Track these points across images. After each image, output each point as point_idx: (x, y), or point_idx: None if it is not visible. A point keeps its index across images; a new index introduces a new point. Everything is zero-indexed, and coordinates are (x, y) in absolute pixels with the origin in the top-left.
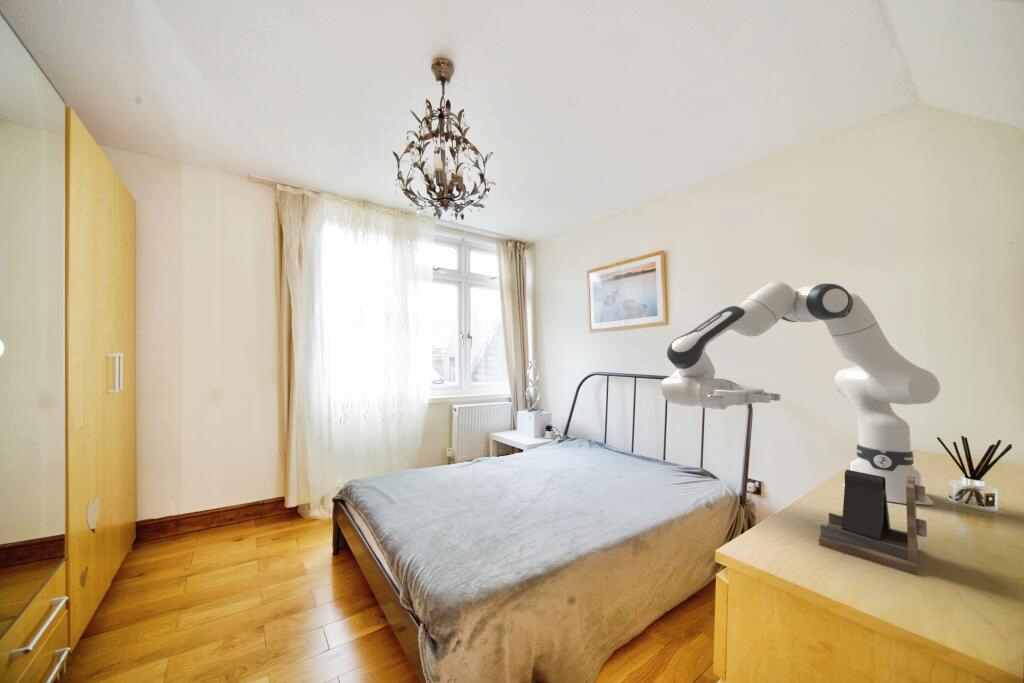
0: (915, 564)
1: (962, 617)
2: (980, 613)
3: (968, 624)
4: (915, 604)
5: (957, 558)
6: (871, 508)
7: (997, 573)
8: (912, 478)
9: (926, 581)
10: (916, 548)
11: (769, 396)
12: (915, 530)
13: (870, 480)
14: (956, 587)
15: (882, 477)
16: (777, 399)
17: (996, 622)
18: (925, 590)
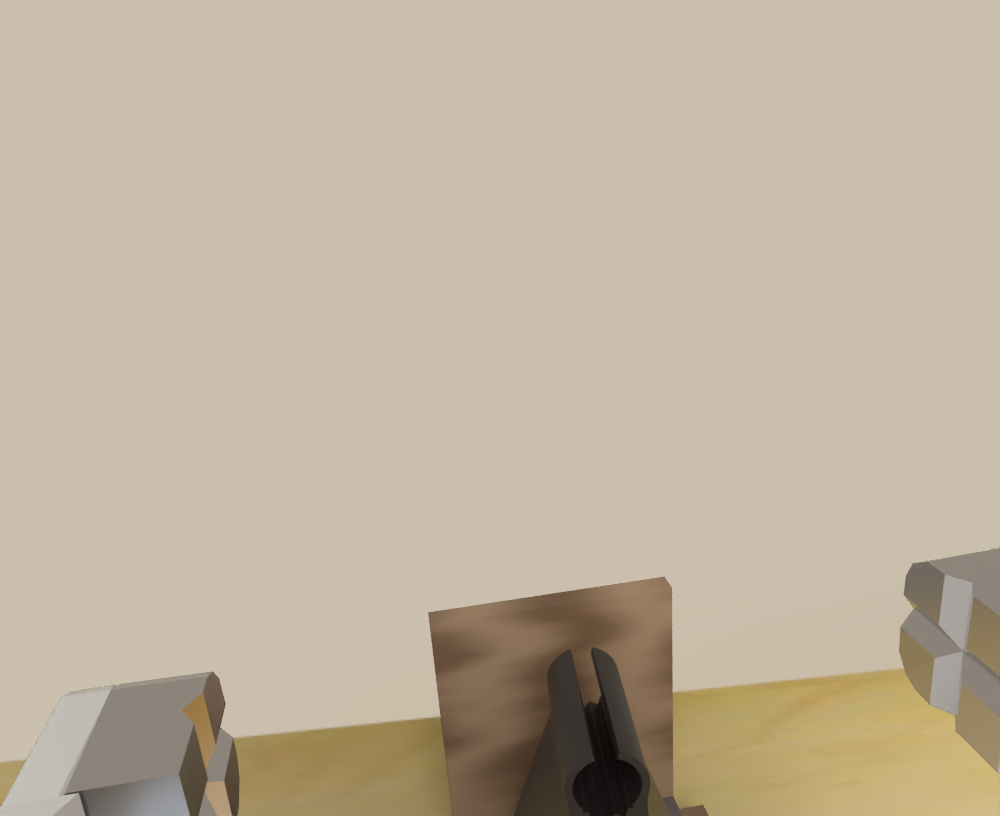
0: (682, 809)
1: (850, 728)
2: (776, 716)
3: (872, 717)
4: (920, 784)
5: (398, 803)
6: (654, 794)
7: (434, 738)
8: (471, 609)
9: (718, 804)
10: None
11: (956, 556)
12: None
13: (623, 692)
14: None
15: (572, 656)
16: (236, 782)
17: (785, 698)
18: (791, 792)
